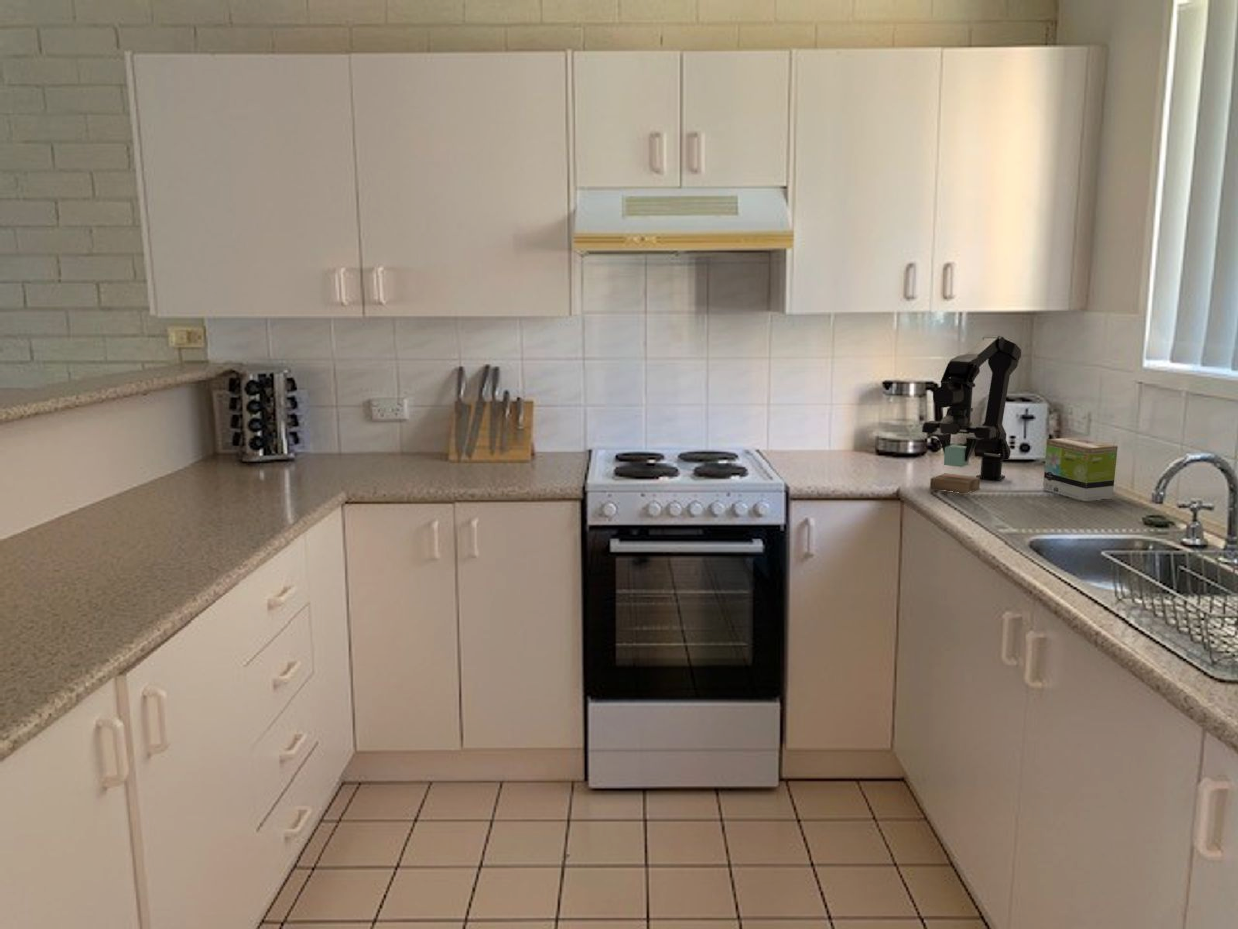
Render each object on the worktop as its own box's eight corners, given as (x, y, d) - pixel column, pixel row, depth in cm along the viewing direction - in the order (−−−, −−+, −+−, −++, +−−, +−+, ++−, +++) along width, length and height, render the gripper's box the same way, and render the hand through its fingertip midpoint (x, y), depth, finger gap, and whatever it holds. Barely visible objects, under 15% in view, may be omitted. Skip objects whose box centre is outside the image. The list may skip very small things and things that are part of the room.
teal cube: (950, 462, 260) (952, 444, 259) (968, 464, 257) (969, 446, 256) (943, 464, 256) (945, 447, 255) (961, 467, 253) (962, 449, 252)
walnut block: (944, 485, 265) (944, 473, 264) (979, 489, 258) (979, 477, 258) (929, 490, 257) (930, 478, 257) (965, 495, 251) (966, 483, 250)
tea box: (1041, 491, 255) (1045, 438, 252) (1069, 488, 258) (1074, 436, 256) (1084, 502, 241) (1089, 446, 238) (1114, 499, 244) (1119, 444, 242)
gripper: (915, 404, 253) (912, 460, 256) (983, 410, 241) (979, 468, 244) (932, 400, 262) (928, 455, 265) (998, 406, 250) (994, 462, 252)
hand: (956, 460), depth 256 cm, fingers closed on teal cube, 5 cm apart
